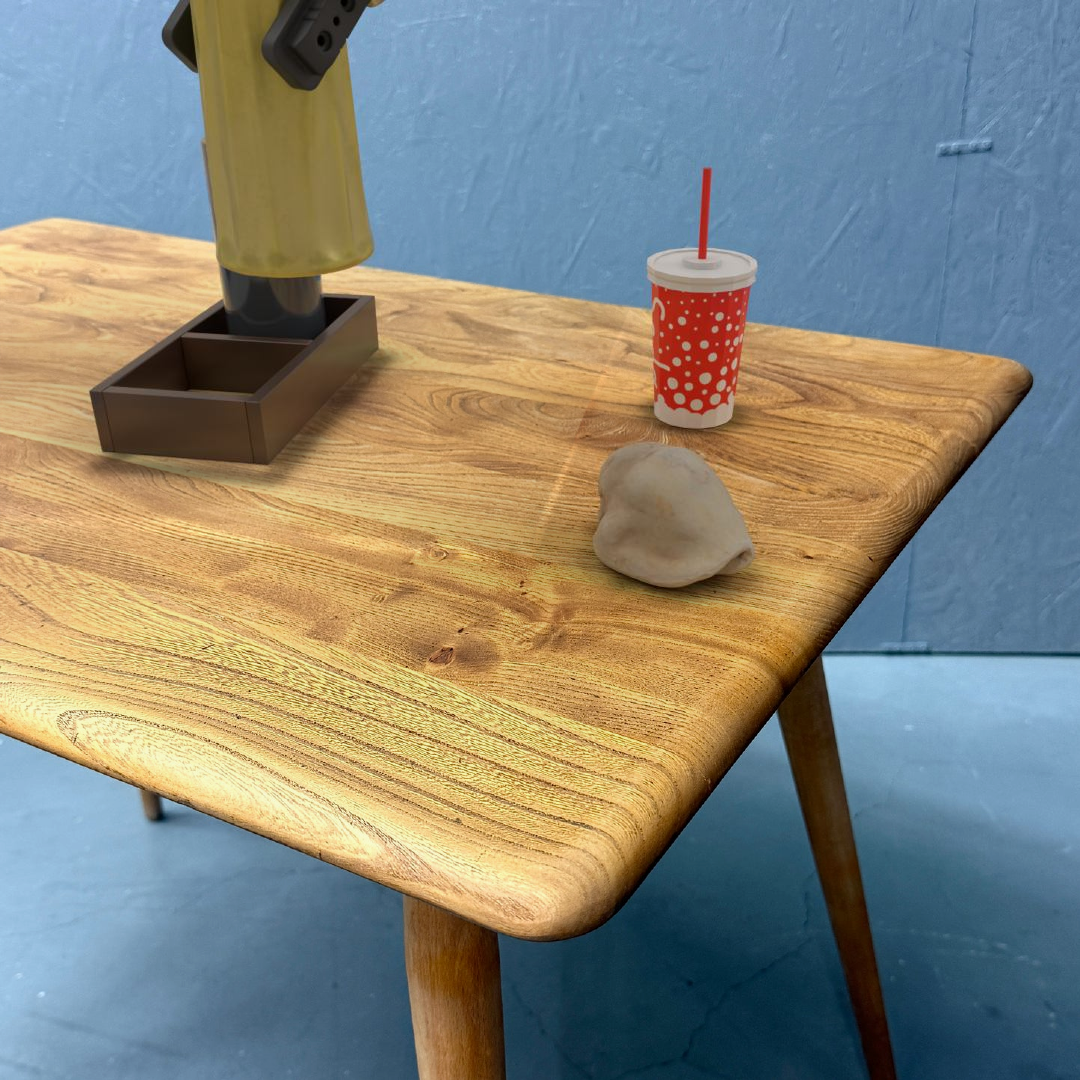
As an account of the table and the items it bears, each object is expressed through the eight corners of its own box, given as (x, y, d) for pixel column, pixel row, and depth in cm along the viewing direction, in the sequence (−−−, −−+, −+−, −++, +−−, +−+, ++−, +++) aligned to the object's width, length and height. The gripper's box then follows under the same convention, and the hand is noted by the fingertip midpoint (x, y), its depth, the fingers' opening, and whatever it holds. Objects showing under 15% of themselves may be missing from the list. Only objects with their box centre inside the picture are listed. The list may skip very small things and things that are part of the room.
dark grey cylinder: (218, 382, 71) (181, 145, 64) (257, 349, 76) (227, 127, 69) (310, 388, 70) (282, 148, 63) (343, 354, 75) (321, 129, 68)
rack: (103, 464, 63) (88, 390, 60) (245, 350, 78) (236, 288, 76) (269, 478, 61) (259, 402, 59) (380, 358, 77) (374, 295, 74)
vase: (364, 279, 43) (326, -175, 36) (198, 280, 43) (128, -174, 36) (383, 236, 48) (354, -167, 41) (236, 237, 48) (181, -166, 41)
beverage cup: (653, 388, 71) (663, 154, 64) (753, 399, 70) (773, 160, 63) (630, 426, 66) (637, 176, 59) (736, 439, 65) (756, 183, 58)
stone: (730, 573, 57) (629, 447, 57) (800, 524, 51) (688, 385, 52) (639, 648, 53) (533, 513, 54) (704, 604, 48) (585, 455, 49)
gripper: (273, -390, 44) (43, -21, 42) (561, -459, 35) (289, -1, 33) (388, -215, 50) (192, 114, 48) (657, -238, 41) (432, 160, 39)
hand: (233, 64), depth 41 cm, fingers closed on vase, 5 cm apart
